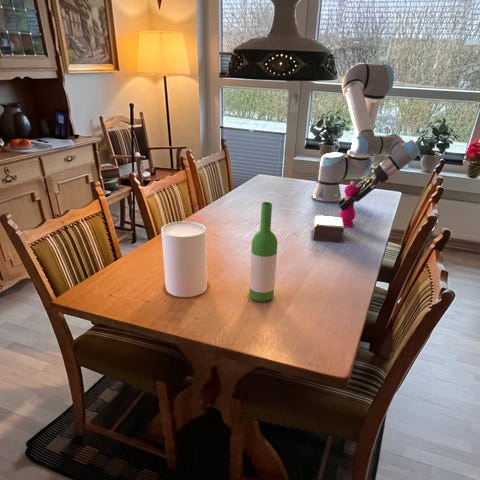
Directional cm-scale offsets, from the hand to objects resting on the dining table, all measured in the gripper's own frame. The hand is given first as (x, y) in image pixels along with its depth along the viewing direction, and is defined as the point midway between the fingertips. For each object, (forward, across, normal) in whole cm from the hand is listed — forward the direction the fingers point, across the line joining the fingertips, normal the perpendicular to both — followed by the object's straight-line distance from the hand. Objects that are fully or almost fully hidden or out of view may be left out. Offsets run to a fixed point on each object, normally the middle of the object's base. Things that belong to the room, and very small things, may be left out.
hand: (340, 207), depth 188 cm
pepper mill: (+3, 0, -9) cm, 9 cm away
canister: (+47, -70, +35) cm, 92 cm away
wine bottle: (+30, -74, +18) cm, 82 cm away
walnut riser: (+10, -16, -1) cm, 19 cm away
